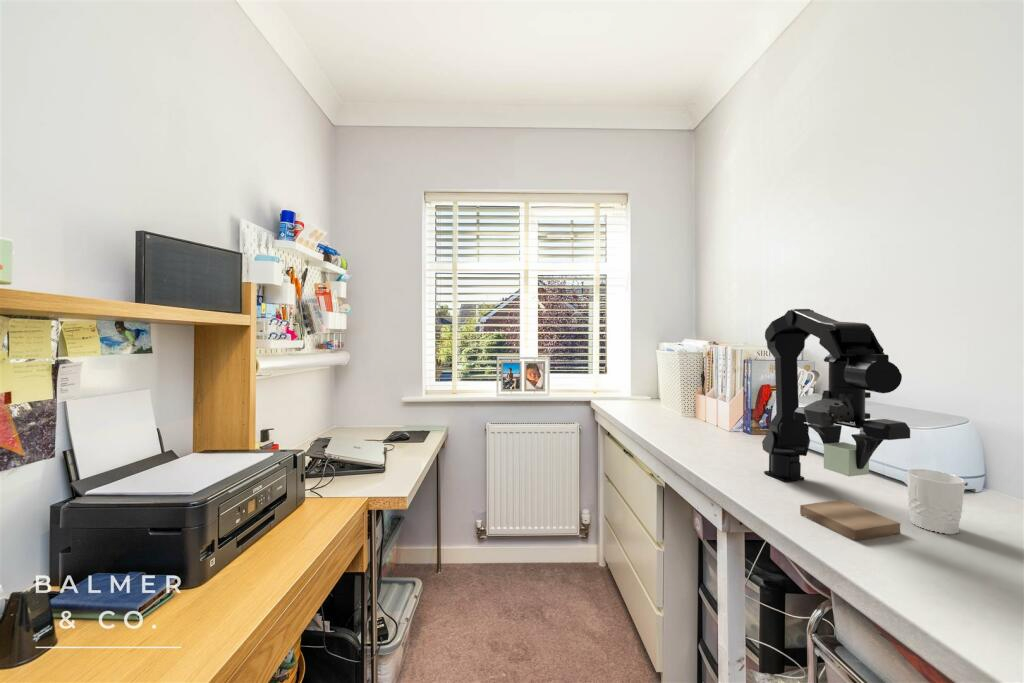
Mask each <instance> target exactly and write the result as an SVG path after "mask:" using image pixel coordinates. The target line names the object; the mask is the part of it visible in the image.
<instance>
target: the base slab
mask: <svg viewBox="0 0 1024 683" xmlns="http://www.w3.org/2000/svg"><path fill="white" fill-rule="evenodd" d="M799 506H800V507H799V508H800V509H799V510H800V511H799V514H801V515H800V516H802V515H804V516H806V517H807V518H806V517H805V518H806V519H808V518H809V520H810V519H812V520H813V522H814V521H815V522H814V523H816V522H817V524H818V525H821V526H823V527H825V526H826V527H825V528H827V529H829V530H831V529H832V530H831V531H833V530H834V531H833V532H835V531H836V532H835V533H837V532H838V533H837V534H839V533H840V534H839V535H841V534H842V536H843V535H844V537H846V538H848V539H850V540H851V541H854V542H856V541H863V540H869V539H874V538H875V539H876V538H880V537H881V536H882V537H887V536H886V535H888V536H892V535H891V534H894V535H898V534H897V533H900V534H901V522H900V521H899V522H898V521H897V520H894V519H891V518H889V517H886V516H884V515H881V514H878V513H876V512H873V511H872V510H869V509H866V508H864V507H861V506H859V505H856V504H853V503H852V502H849V501H847V500H844V499H837V500H827V501H822V502H813V503H808V504H807V503H806V504H800V505H799ZM804 516H803V517H804ZM812 520H811V521H812ZM882 537H881V538H882Z"/></svg>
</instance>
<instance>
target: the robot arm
mask: <svg viewBox="0 0 1024 683" xmlns="http://www.w3.org/2000/svg"><path fill="white" fill-rule="evenodd" d="M811 335H812V336H814V337H816V338H818V339H819V345H820V346H821V347H822V348H823V349H825V350H826V351H827V352H828V353H829V354H828V355H826V356H825V357H824V358H823V362H824V363H828V389H827V390H823V392H822V394H821V399H819V400H815V401H813V402H812V403H809V404H808V405H805V406H801V407H800V404H799V379H798V378H799V371H798V357H799V356H800V355H801V353H802V352H803V351H804V349H805V347H806V343H805V342H806V340H808V338H809V337H810V336H811ZM764 338H765V342H766V347H767V350H768V351H769V352H770V353H771V355H772V356H773V357H774V373H775V374H774V375H775V379H774V380H775V408H776V412H775V415H774V416H773V418H772V419H771V421H770V422H769V424H768V425H769V426H768V427H769V428H768V432H767V433H766V435H765V437H764V438H763V439H762V441H761V444H762V451H764V452H766V453H767V454H768V470H764V471H763V473H764V474H765V475H767V476H771V477H772V478H775V479H778V480H779V481H783V482H792V481H800V480H802V481H803V480H805V477H804V476H802V474H801V473H802V472H801V470H802V468H801V467H802V466H801V465H802V463H801V462H800V458H801V457H802V456H803V457H807V455H808V450H809V447H810V443H811V439H810V435H809V433H810V432H809V428H811V429H813V431H814V432H816V433H817V434H818V436H819V438H820V440H821V441H822V444H823V445H824V444H827V443H839V442H841V441H840V440H841V433H842V428H843V427H847V428H853V429H857V430H859V433H855V434H851V437H852V439H853V440H854V441H855V445H856V465H857V469H863V468H864V466H865V465H866V463H867V462H868V460H869V461H870V459H871V457H872V456H873V454H874V453H875V451H876V450H877V448H878V447H879V446H880V445H881V443H883V441H892V440H896V441H897V440H906V439H908V440H909V439H911V428H910V427H909V425H908V424H907V423H906V422H904V421H898V420H892V419H886V418H880V419H871V413H869V412H868V413H867V412H866V399H869V398H871V392H874V393H878V394H888V393H892V392H894V391H895V390H896V389H898V387H900V385H901V383H902V378H903V377H902V376H903V375H902V373H901V370H900V369H899V367H898V366H897V365H895V364H894V363H892V362H891V361H890V360H889V355H888V354H886V353H885V352H884V348H883V346H882V345H881V344H880V342H879V340H878V338H877V337H876V335H875V333H874V331H873V330H872V327H871V326H870V325H869V324H867V323H863V322H856V321H855V322H853V321H852V322H850V321H848V322H847V321H839V320H836V319H833V318H831V317H828V316H825V315H823V314H820V313H818V312H815V310H813V309H810V308H792V309H789V310H787V311H786V312H785V313H784V315H782V316H780V317H778V318H776V319H774V320H772V321H771V322H770V323H769V325H768V326H767V328H766V329H765V331H764ZM867 391H868V392H867ZM842 426H843V427H842ZM800 456H801V457H800Z"/></svg>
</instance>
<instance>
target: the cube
mask: <svg viewBox="0 0 1024 683" xmlns="http://www.w3.org/2000/svg"><path fill="white" fill-rule="evenodd" d="M823 469H825V470H827V471H832V472H834V473H837V474H841V475H843V476H846V477H856V476H866V475H869V472H870V459H869V460H868V462H867V463H866V465H865V466H864V468H863V469H857V465H856V444H851V443H848V442H844V441H842V442H841V441H839V443H827V444H823Z"/></svg>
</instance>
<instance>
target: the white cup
mask: <svg viewBox="0 0 1024 683" xmlns="http://www.w3.org/2000/svg"><path fill="white" fill-rule="evenodd" d="M906 475H907V497H908V508H909V521H910V522H911V523H912V524H913V525H914V524H915V525H914V526H917V527H918V526H919V527H918V528H920V527H921V528H920V529H922V528H924V529H923V530H926V529H927V530H926V531H929V530H930V531H929V532H932V531H935V532H934V533H937V532H939V533H938V534H942V533H945V534H944V535H956V533H957V534H959V529H960V522H961V519H962V514H963V505H964V498H965V497H964V496H965V486H966V481H965V479H963V478H962V477H959V476H957V475H955V474H950V473H946V472H942V471H938V470H932V469H926V468H925V469H923V468H912V469H908V470H907V474H906Z"/></svg>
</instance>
